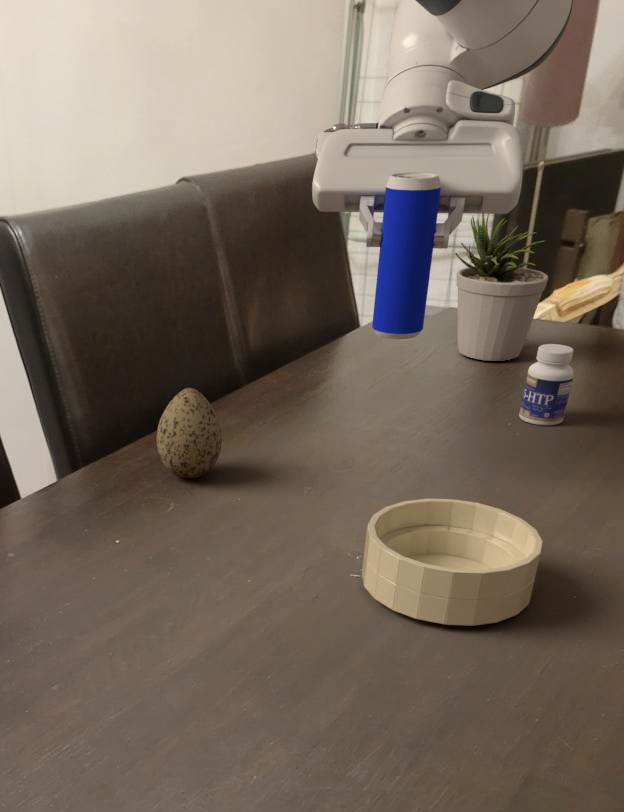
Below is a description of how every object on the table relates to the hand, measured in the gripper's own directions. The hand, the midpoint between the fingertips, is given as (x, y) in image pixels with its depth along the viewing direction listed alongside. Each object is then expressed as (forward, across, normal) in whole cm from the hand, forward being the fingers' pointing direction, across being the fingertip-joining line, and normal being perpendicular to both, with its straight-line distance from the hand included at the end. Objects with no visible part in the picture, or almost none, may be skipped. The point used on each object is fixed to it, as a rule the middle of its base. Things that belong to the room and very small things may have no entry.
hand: (407, 244), depth 95 cm
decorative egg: (+22, -21, +12) cm, 32 cm away
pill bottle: (+2, +18, +32) cm, 37 cm away
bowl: (+36, +7, -2) cm, 36 cm away
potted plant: (-18, +13, +52) cm, 56 cm away
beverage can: (+6, 0, +7) cm, 9 cm away
